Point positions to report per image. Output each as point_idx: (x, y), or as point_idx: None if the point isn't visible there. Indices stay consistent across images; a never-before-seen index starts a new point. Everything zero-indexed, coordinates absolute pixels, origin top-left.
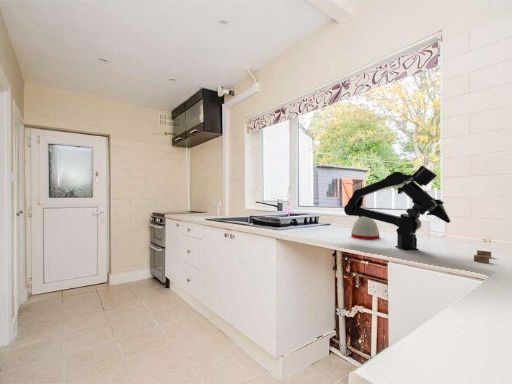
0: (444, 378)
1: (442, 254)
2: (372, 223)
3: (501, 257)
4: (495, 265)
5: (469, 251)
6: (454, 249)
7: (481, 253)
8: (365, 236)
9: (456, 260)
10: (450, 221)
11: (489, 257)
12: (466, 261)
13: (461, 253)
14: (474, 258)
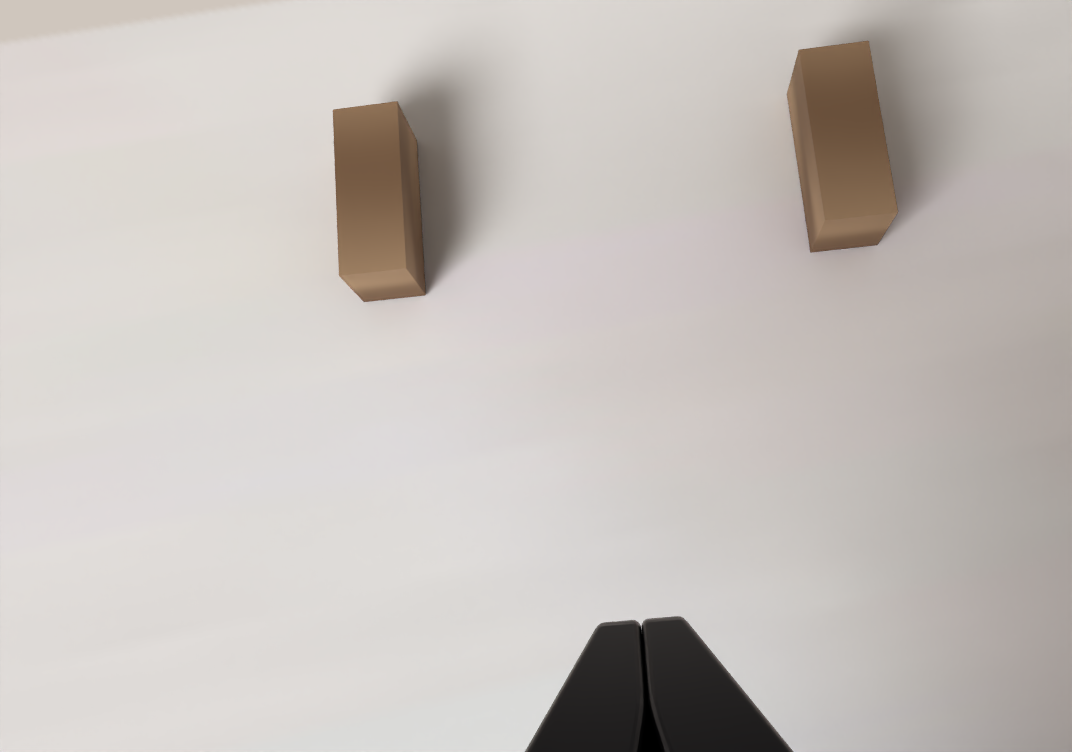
0: None
1: None
2: None
3: (267, 59)
4: (925, 9)
5: (97, 454)
6: (79, 674)
7: (410, 225)
8: None
9: (1058, 427)
10: (614, 623)
11: (417, 154)
12: (997, 310)
13: (382, 504)
14: (886, 223)
